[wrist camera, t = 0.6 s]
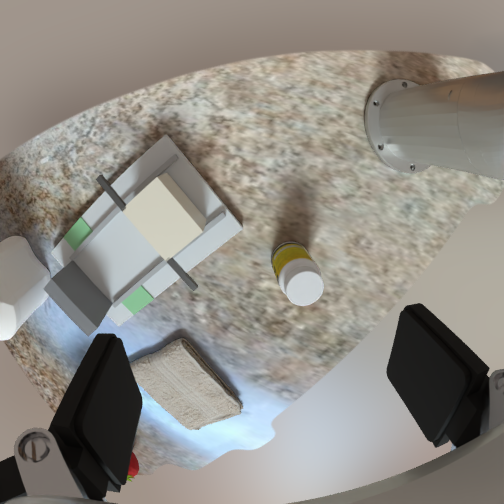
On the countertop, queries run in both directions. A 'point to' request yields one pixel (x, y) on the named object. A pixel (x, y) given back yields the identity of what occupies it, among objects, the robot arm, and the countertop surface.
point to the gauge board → (131, 244)
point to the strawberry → (133, 467)
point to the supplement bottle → (297, 273)
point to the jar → (19, 284)
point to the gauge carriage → (162, 218)
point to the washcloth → (185, 385)
